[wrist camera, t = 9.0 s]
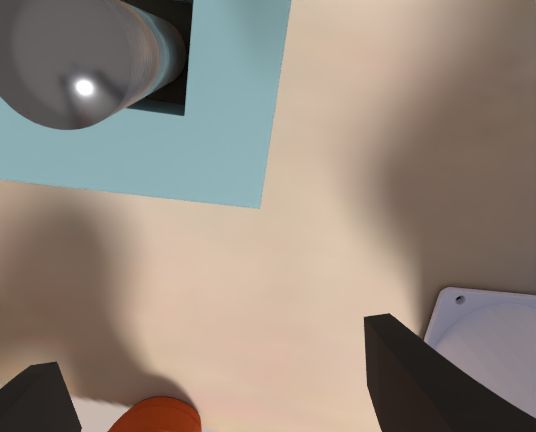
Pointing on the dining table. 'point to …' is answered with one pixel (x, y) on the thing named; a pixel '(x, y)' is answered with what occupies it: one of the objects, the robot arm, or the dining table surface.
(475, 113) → the dining table surface
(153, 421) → the toy drill
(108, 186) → the block
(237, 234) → the dining table surface
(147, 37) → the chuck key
